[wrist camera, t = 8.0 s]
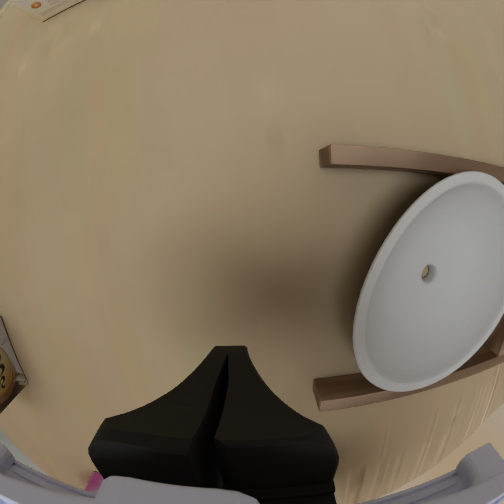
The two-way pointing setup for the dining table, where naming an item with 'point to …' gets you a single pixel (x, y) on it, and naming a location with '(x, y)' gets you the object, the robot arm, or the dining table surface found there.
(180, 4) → the dining table surface
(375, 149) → the caddy
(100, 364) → the dining table surface
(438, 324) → the dish
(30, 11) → the coffeecake box
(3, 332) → the coffee box
